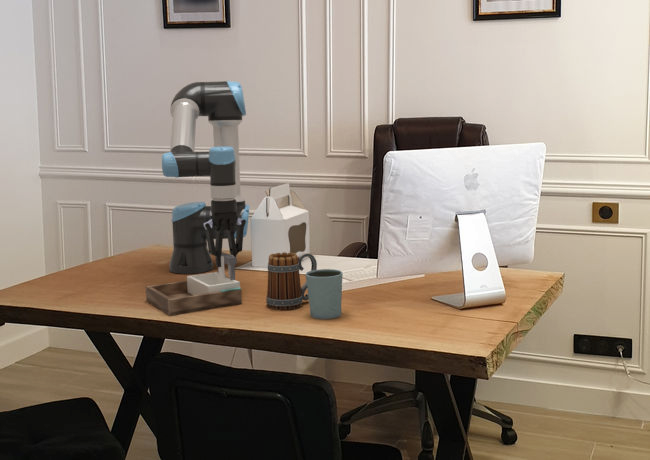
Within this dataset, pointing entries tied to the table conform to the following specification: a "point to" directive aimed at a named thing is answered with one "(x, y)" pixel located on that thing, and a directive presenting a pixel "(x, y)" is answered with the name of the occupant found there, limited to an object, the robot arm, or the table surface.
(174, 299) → the bay
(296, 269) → the mug
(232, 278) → the white box with handle
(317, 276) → the teal coffee mug
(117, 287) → the table surface
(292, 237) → the gable box
